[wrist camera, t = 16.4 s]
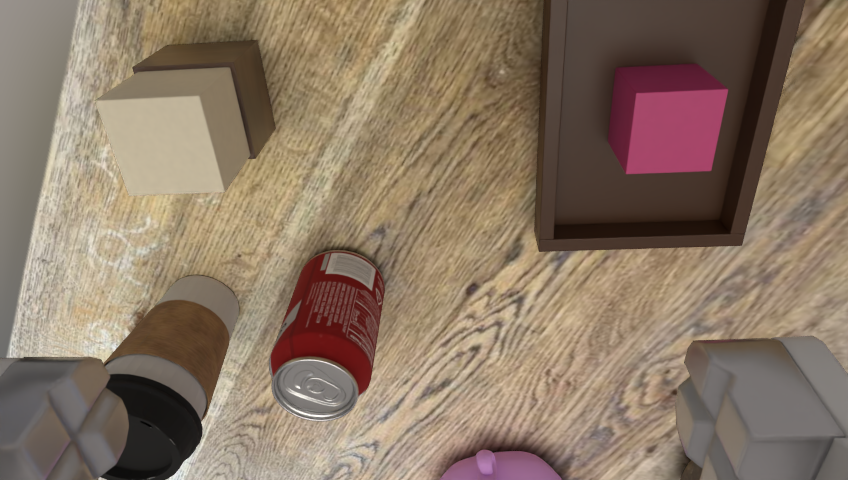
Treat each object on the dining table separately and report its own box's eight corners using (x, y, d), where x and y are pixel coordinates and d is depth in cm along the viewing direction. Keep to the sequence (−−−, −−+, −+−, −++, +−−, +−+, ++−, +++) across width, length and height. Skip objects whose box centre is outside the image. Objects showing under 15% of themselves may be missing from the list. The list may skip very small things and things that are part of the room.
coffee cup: (274, 301, 50) (212, 451, 37) (221, 357, 53) (149, 511, 40) (184, 243, 47) (84, 384, 34) (135, 306, 50) (28, 454, 38)
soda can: (330, 229, 46) (295, 334, 36) (402, 274, 48) (388, 386, 38) (286, 285, 49) (242, 397, 39) (355, 325, 51) (331, 442, 41)
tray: (546, -66, 35) (553, -61, 32) (799, -83, 34) (825, -79, 31) (534, 231, 45) (538, 251, 43) (726, 225, 44) (742, 246, 42)
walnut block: (166, 44, 39) (131, 67, 35) (257, 39, 38) (233, 61, 34) (191, 132, 42) (162, 162, 38) (275, 128, 42) (255, 158, 37)
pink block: (615, 67, 38) (636, 93, 33) (697, 63, 37) (728, 88, 33) (607, 141, 40) (625, 174, 36) (684, 138, 40) (711, 171, 36)
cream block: (137, 71, 35) (93, 100, 30) (230, 66, 34) (199, 95, 30) (164, 158, 38) (128, 196, 33) (250, 155, 37) (225, 193, 33)
